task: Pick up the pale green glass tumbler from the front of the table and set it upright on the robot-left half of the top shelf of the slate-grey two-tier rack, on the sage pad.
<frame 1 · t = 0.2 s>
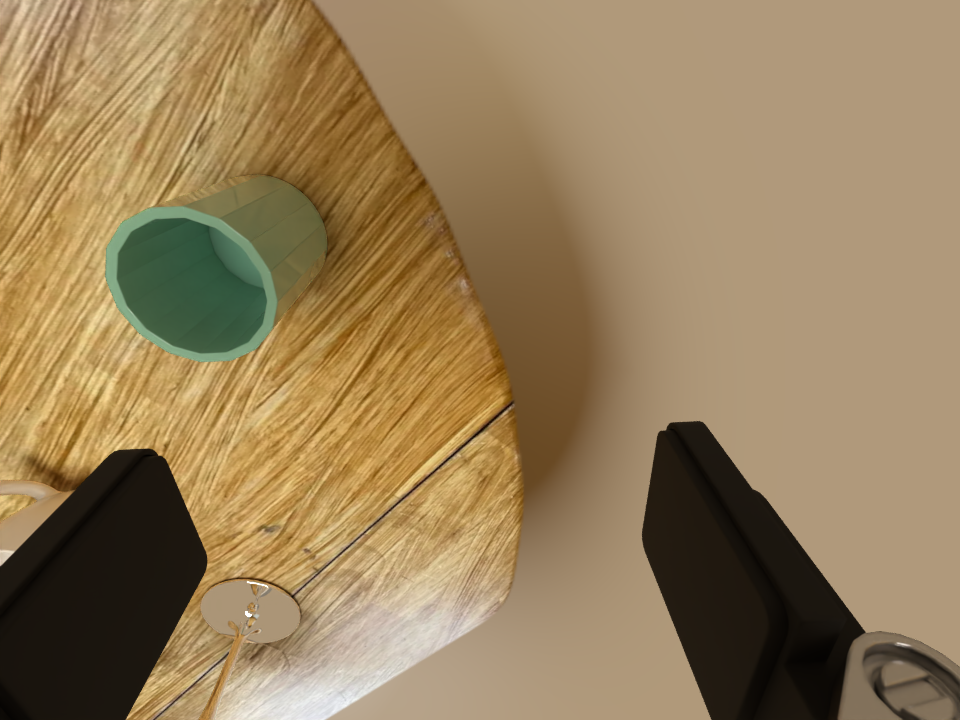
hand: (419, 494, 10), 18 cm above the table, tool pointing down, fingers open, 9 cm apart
wineglass: (253, 607, 39), on the table
cup: (89, 497, 33), on the table
tumbler: (268, 236, 25), on the table
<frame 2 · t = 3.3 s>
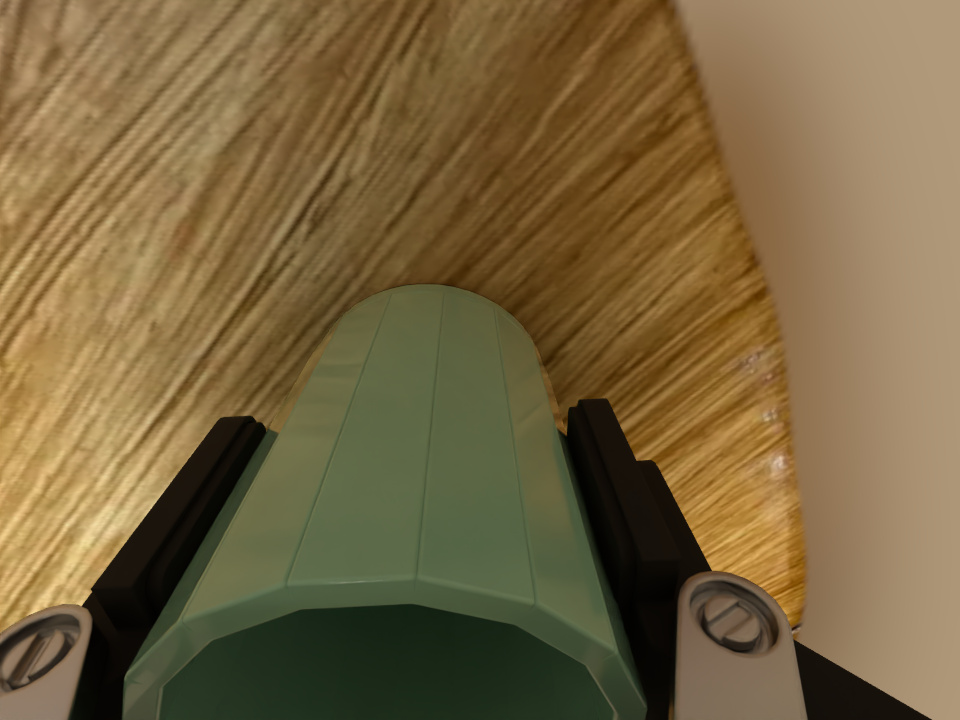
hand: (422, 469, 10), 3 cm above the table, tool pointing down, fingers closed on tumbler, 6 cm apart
tumbler: (430, 392, 13), on the table, touching gripper
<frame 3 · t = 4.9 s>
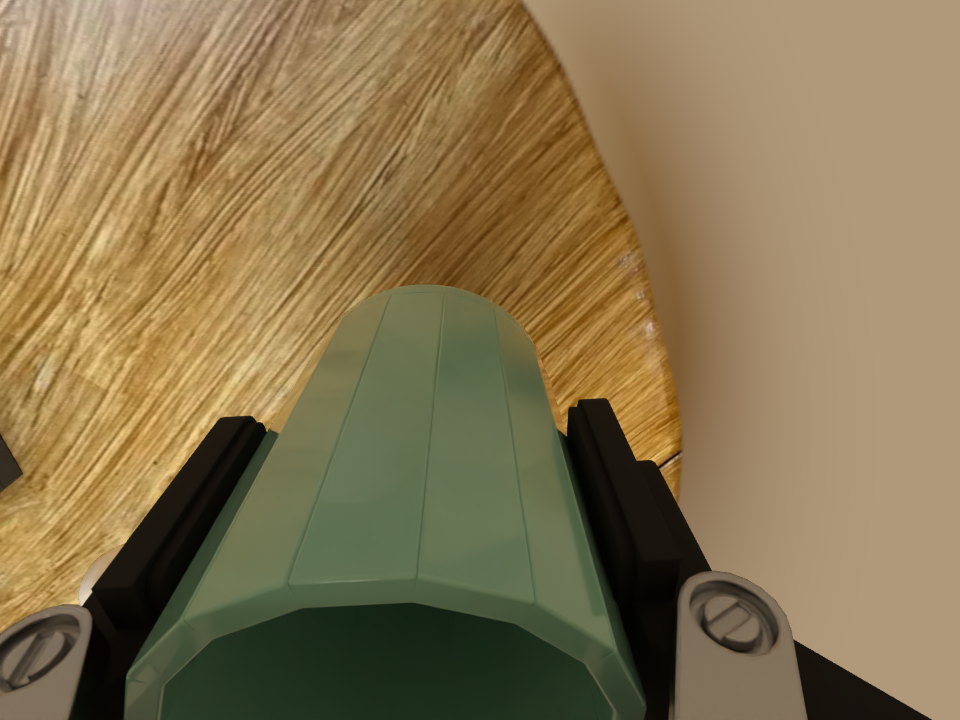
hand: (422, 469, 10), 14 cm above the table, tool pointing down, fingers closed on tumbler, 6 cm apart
cup: (207, 554, 31), on the table
tumbler: (430, 392, 13), point 11 cm above the table, touching gripper
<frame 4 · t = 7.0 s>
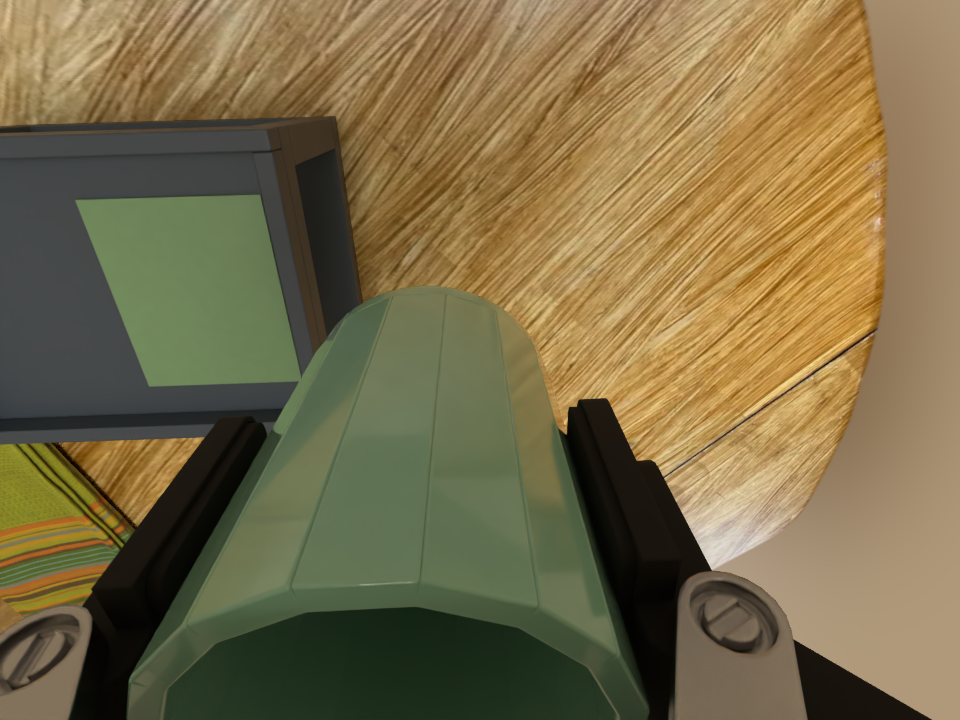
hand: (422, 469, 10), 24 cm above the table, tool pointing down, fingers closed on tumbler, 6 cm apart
tumbler: (432, 394, 13), point 21 cm above the table, touching gripper
rack: (211, 242, 32), on the table
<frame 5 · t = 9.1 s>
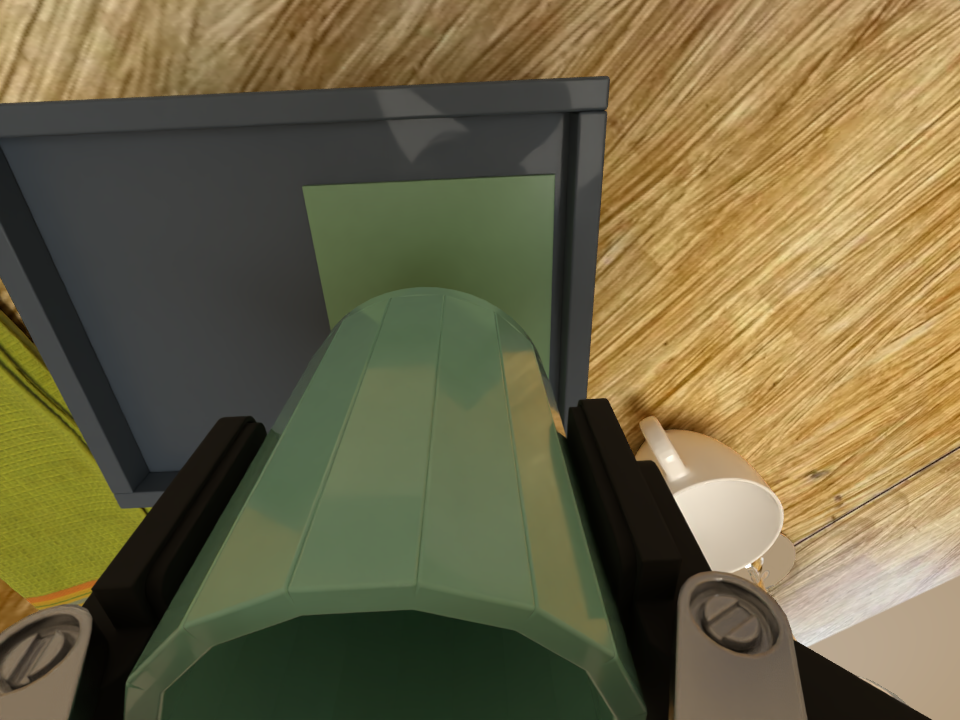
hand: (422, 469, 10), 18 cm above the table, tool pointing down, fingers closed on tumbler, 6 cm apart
wineglass: (742, 560, 39), on the table
cup: (660, 440, 33), on the table
tumbler: (431, 395, 13), point 15 cm above the table, touching gripper
rack: (372, 244, 26), on the table
dish towel: (78, 515, 35), on the table
when the fingers open (13 cm above the table, at t = 10.8 s): tumbler stays where it is, resting on rack.
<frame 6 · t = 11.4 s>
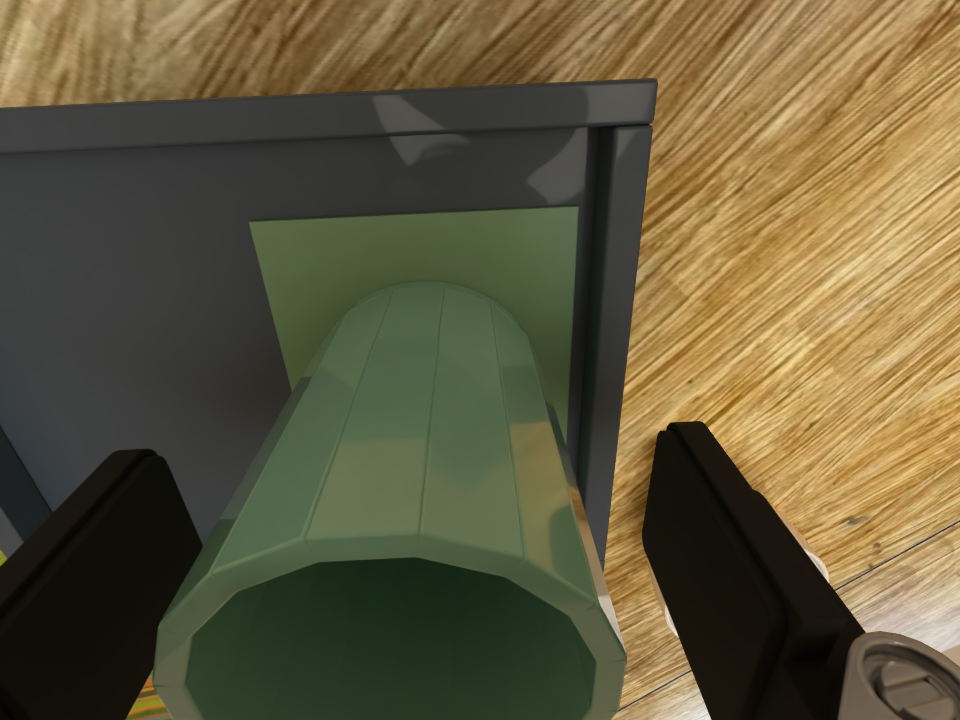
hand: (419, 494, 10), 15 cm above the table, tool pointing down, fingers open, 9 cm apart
cup: (681, 485, 29), on the table
tumbler: (430, 385, 14), point 10 cm above the table, touching rack
rack: (355, 272, 23), on the table
dish towel: (32, 567, 31), on the table
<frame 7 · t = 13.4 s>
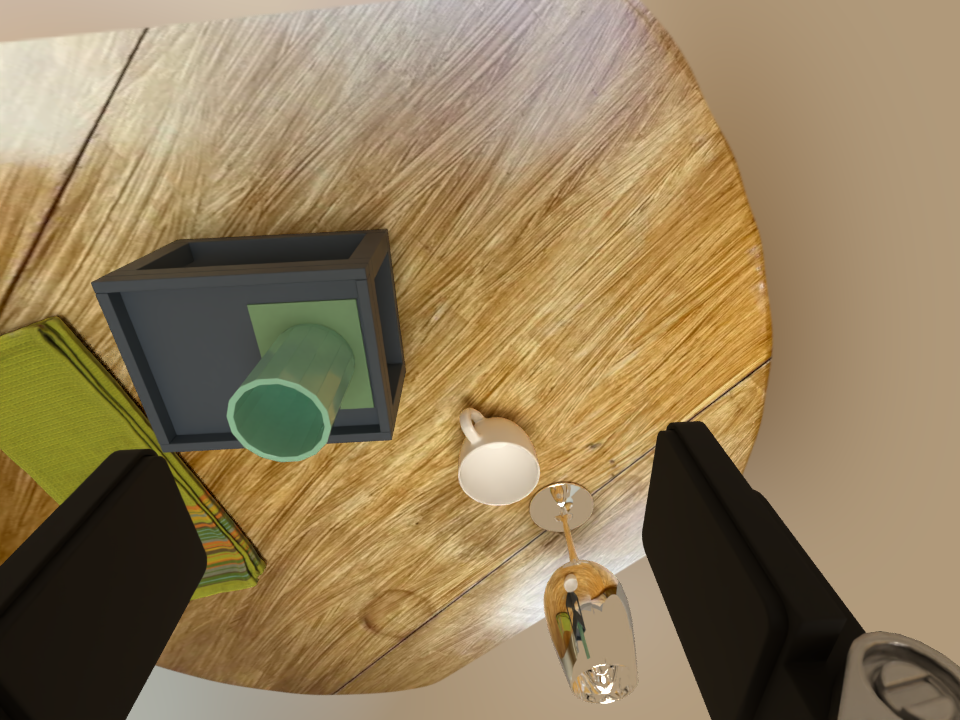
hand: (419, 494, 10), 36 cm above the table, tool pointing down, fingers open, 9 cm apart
wineglass: (560, 505, 58), on the table
cup: (489, 424, 53), on the table
tumbler: (314, 360, 37), point 10 cm above the table, touching rack
rack: (299, 310, 46), on the table
dish towel: (123, 475, 54), on the table
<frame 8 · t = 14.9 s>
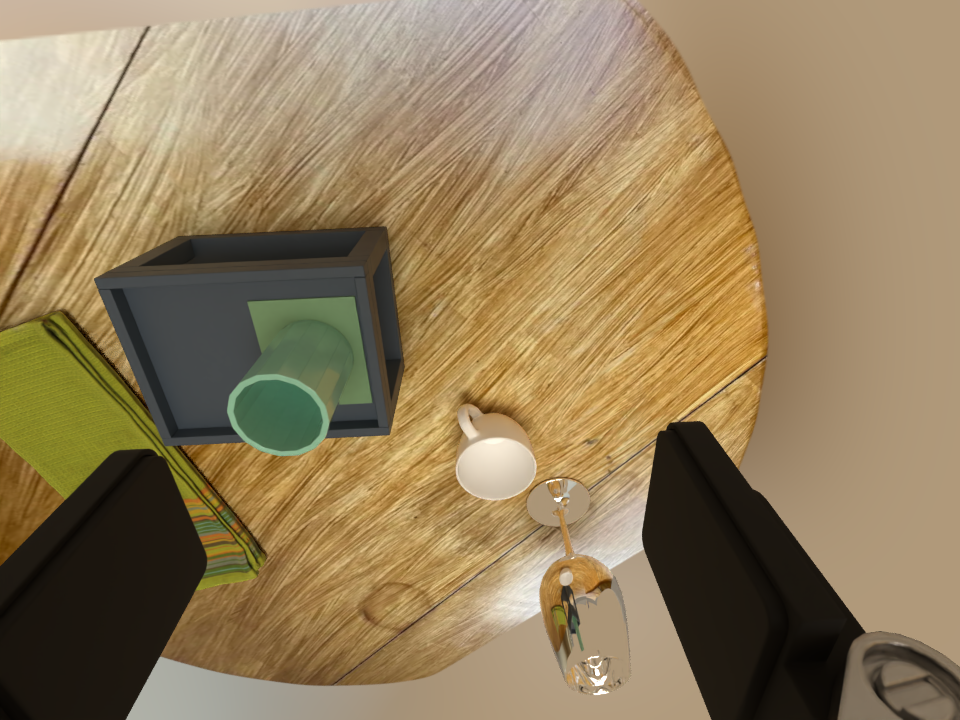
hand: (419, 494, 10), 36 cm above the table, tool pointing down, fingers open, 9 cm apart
wineglass: (557, 500, 59), on the table
cup: (486, 420, 53), on the table
tumbler: (313, 356, 37), point 10 cm above the table, touching rack
rack: (299, 306, 46), on the table
dish towel: (125, 468, 55), on the table
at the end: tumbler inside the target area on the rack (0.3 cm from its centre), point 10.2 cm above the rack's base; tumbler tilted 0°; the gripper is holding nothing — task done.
